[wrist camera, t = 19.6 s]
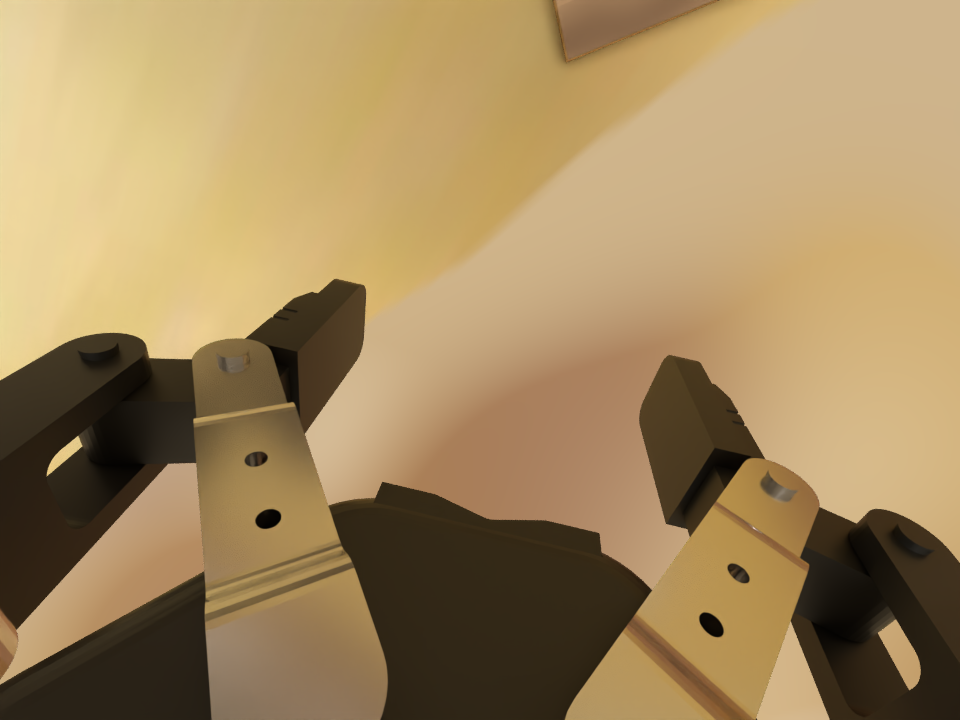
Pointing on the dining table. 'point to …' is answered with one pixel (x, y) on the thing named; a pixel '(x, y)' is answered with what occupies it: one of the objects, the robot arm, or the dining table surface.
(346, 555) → the robot arm
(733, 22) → the dining table surface
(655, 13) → the block
